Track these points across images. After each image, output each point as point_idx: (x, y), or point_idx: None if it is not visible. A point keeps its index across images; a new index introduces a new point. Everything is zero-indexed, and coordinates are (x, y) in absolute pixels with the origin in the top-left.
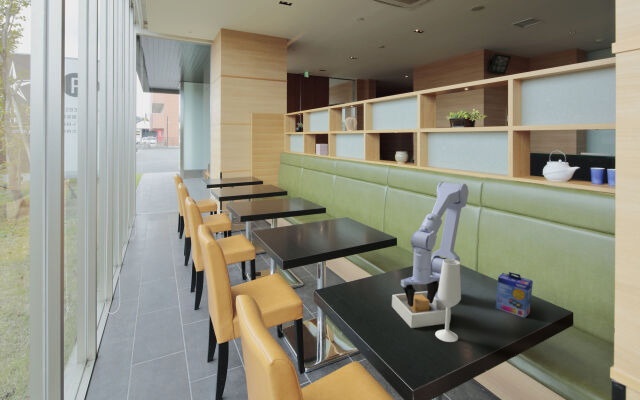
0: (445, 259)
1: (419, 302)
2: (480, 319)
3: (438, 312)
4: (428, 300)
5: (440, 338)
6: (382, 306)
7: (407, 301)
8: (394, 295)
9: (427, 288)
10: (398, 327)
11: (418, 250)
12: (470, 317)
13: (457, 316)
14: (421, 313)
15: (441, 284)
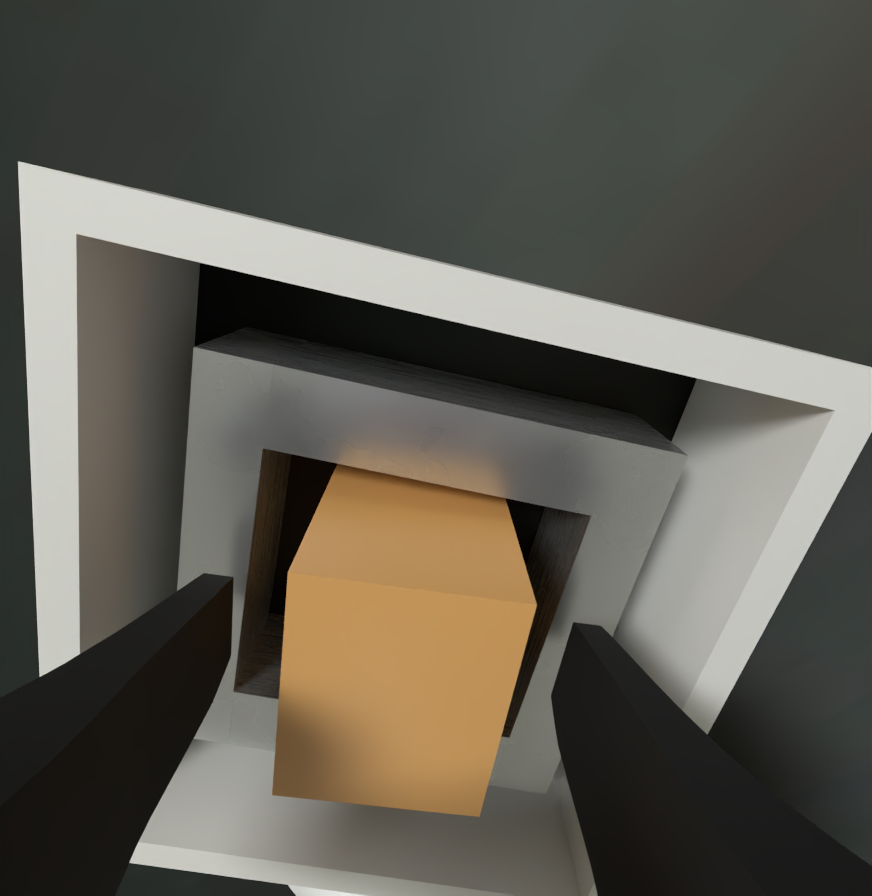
0: None
1: (282, 789)
2: (857, 820)
3: (433, 893)
4: (466, 810)
5: (291, 885)
6: (13, 118)
7: (314, 412)
8: (59, 222)
9: (683, 810)
10: (20, 646)
11: None
12: (820, 773)
13: (734, 720)
14: (196, 866)
15: None
